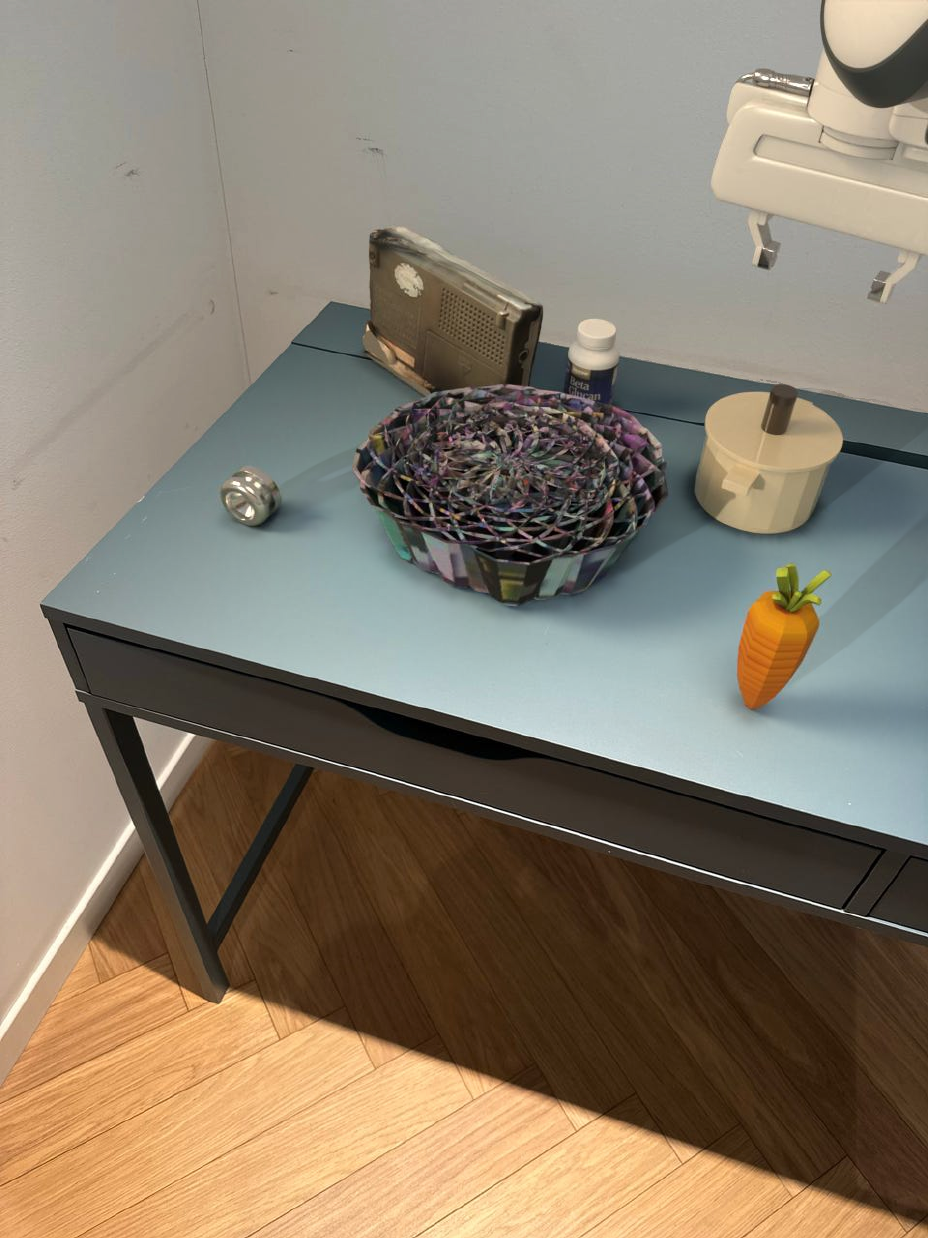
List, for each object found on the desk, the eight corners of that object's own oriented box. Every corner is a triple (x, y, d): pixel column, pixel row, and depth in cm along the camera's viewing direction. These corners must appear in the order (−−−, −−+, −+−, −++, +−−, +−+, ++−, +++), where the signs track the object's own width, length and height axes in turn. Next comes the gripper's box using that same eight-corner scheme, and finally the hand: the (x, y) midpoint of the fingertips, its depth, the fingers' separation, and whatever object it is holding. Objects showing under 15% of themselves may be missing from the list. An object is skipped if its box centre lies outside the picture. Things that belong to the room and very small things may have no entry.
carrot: (785, 693, 77) (842, 553, 67) (778, 739, 74) (837, 599, 63) (723, 677, 78) (769, 536, 68) (714, 722, 75) (761, 581, 64)
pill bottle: (559, 419, 104) (568, 337, 97) (564, 393, 108) (573, 312, 101) (609, 425, 104) (622, 343, 97) (612, 398, 107) (624, 317, 100)
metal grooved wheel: (283, 517, 91) (277, 474, 88) (266, 535, 89) (259, 492, 86) (240, 501, 93) (232, 459, 89) (221, 519, 91) (213, 476, 87)
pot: (837, 474, 98) (861, 411, 93) (778, 565, 88) (800, 501, 83) (731, 436, 103) (747, 374, 97) (663, 519, 93) (677, 454, 87)
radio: (546, 420, 104) (559, 289, 93) (484, 448, 100) (490, 315, 89) (419, 333, 116) (417, 209, 106) (359, 354, 113) (351, 228, 102)
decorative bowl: (616, 675, 81) (644, 592, 73) (310, 586, 84) (308, 498, 77) (662, 495, 98) (688, 414, 91) (407, 427, 102) (413, 344, 94)
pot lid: (857, 428, 92) (874, 382, 88) (813, 495, 84) (830, 447, 81) (733, 387, 97) (745, 341, 93) (681, 447, 89) (692, 399, 85)
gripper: (720, 73, 68) (682, 260, 78) (1022, 138, 61) (938, 336, 71) (752, 52, 72) (712, 233, 82) (1040, 110, 65) (958, 302, 75)
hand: (819, 281), depth 76 cm, fingers open, 8 cm apart
